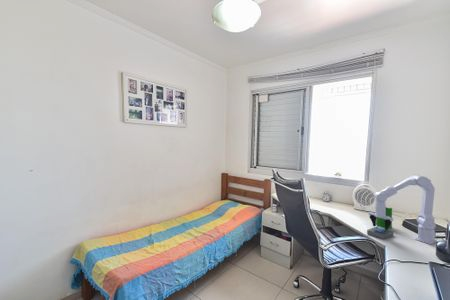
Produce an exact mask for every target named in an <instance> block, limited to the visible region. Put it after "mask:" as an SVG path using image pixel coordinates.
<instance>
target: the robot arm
mask: <svg viewBox="0 0 450 300" xmlns="http://www.w3.org/2000/svg"><path fill="white" fill-rule="evenodd" d="M409 186H419V188H420V189H422V195H421V196H422V197H421V209H420V212H419V213H418V216H417V217H416V222H417V224H418V225H417V231H418V232H417V237H416V238H415V240H416V241H418V242H419V241H420V242H422V243H425V244H429V245H433V244H435V243H437V242H438V241H437V239H436V231H435V228H436V227H437V225H436V223H435V217H434V215H433V211H434V210H433V209H434V200H435V199H434V198H435V191H436V189H435V186H434V184H433V183H432V180H431V179H430V178H428V177H427V176H423V175H419V174H412V175H411V176H408V177H407V178H405V179H404V180H402V181H400V182H398V183H397V184H395V185H393V186H392V185H390V186H386V188H385V189H382V190H380V191H377V192H375V194H374V195H373V197H374V198H375V202H374V203H375V207H374V208H375V209H374V210H375V212H368V216H369V219H370V220H371V223H372V226H373V227H377V225H376V217H379V218H382V219H386V220H385V230H389V229H390V228H389V225H390V224H391V222H392V223H393V222H394V217H392V218H391V217H388V216H386V201H387V200H388V199H389V198H390V197H392V196H394V195H396V194H397V193H398V191H400V190H402V189H404V188H406V187H409Z"/></svg>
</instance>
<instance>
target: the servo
mask: <svg viewBox="0 0 450 300" xmlns="http://www.w3.org/2000/svg"><path fill="white" fill-rule="evenodd" d="M375 227H376V228H375V229H374V230H375V231H378V232H382V233H383V232H385V228H383V227H379V226H378V227H377V226H375Z"/></svg>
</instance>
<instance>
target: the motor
mask: <svg viewBox="0 0 450 300" xmlns="http://www.w3.org/2000/svg"><path fill="white" fill-rule="evenodd" d="M386 216H388V217H391V218H393V207H386ZM385 220H386V219H382V218H379V217H376V227H377V226H379V227H382V228H385ZM392 228H393V221H392V222H391V224H390V225H389V228H388V229H392Z"/></svg>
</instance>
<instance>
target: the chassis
mask: <svg viewBox="0 0 450 300" xmlns="http://www.w3.org/2000/svg"><path fill="white" fill-rule="evenodd" d="M376 227H378V226H377V225H376V226H373V227H372V228H369V229H367V230H366V234H367V235H368V236H371V237H375V238H377V239H381V240H383V241H384V240H386V239H388V238H391V237H393V236H394V232H395V231H394V230H391V229H388V230H385V232H383V233H382V232H378V231H375V230H374V229H375V228H376Z"/></svg>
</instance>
